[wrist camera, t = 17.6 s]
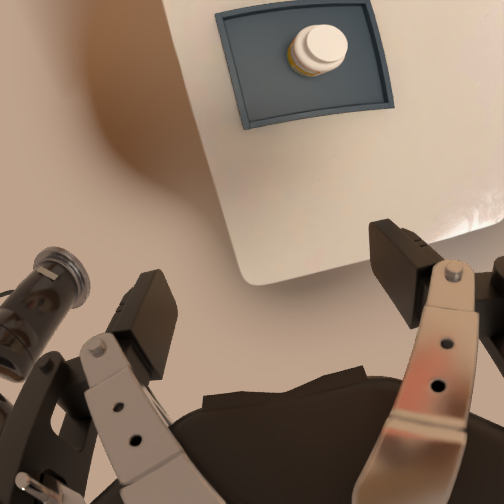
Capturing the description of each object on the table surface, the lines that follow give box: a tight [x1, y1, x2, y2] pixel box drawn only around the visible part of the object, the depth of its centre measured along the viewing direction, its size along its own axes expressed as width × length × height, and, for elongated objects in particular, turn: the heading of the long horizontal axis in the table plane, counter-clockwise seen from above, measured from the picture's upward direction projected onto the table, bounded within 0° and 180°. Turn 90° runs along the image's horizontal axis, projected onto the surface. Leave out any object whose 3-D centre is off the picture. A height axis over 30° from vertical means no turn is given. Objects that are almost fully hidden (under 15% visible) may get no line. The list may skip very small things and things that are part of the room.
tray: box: [215, 0, 395, 130], centre depth 30 cm, size 20×16×2 cm
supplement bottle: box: [287, 25, 348, 77], centre depth 26 cm, size 5×5×10 cm
